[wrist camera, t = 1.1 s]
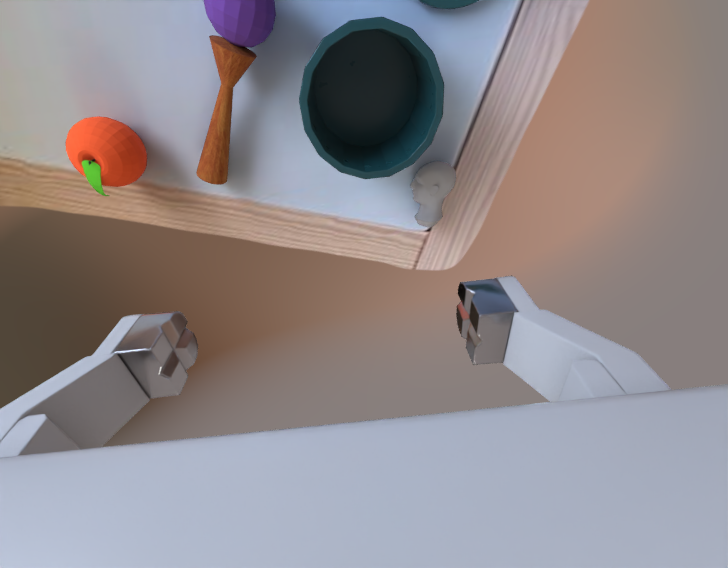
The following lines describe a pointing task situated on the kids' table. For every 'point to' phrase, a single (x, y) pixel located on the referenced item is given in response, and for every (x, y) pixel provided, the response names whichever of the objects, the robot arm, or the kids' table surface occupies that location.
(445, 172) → the smooth white sculpture
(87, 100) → the kids' table surface
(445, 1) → the lid
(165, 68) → the kids' table surface
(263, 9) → the kendama
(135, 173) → the clementine
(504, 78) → the kids' table surface
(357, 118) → the pot
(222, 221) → the kids' table surface
